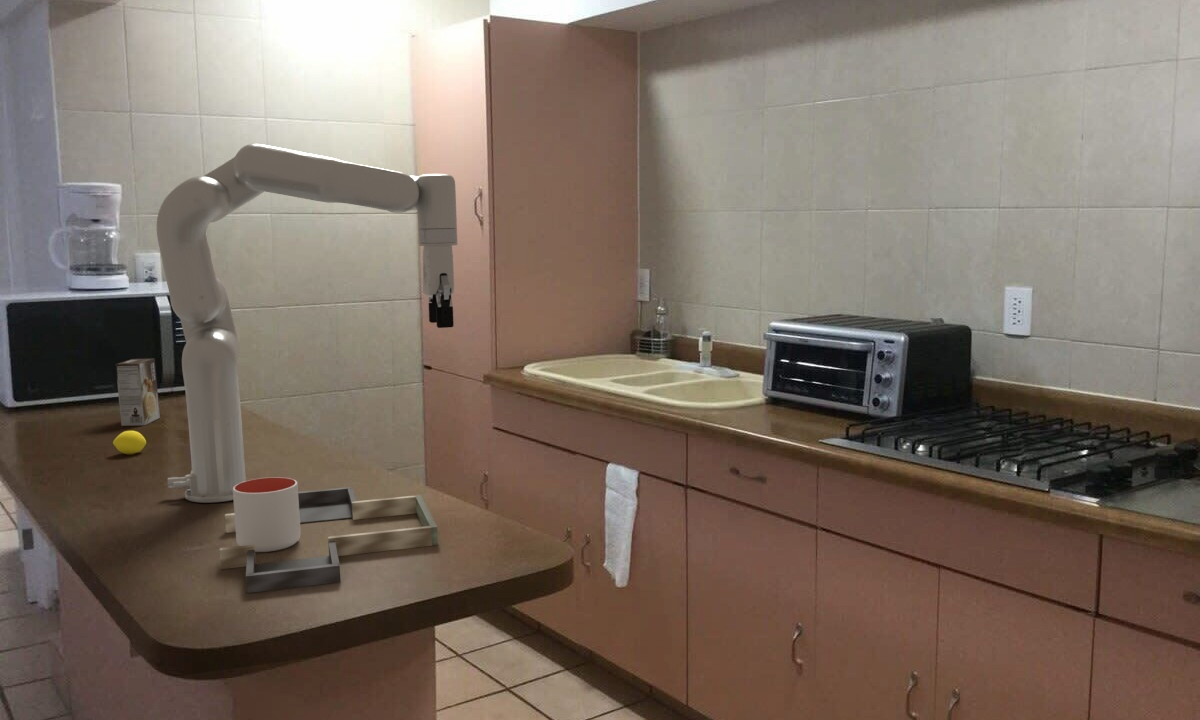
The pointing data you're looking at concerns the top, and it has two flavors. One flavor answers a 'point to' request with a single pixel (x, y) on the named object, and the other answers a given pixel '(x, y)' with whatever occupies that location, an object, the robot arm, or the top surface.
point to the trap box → (332, 539)
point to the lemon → (129, 442)
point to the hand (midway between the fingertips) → (441, 324)
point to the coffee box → (137, 392)
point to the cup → (267, 513)
